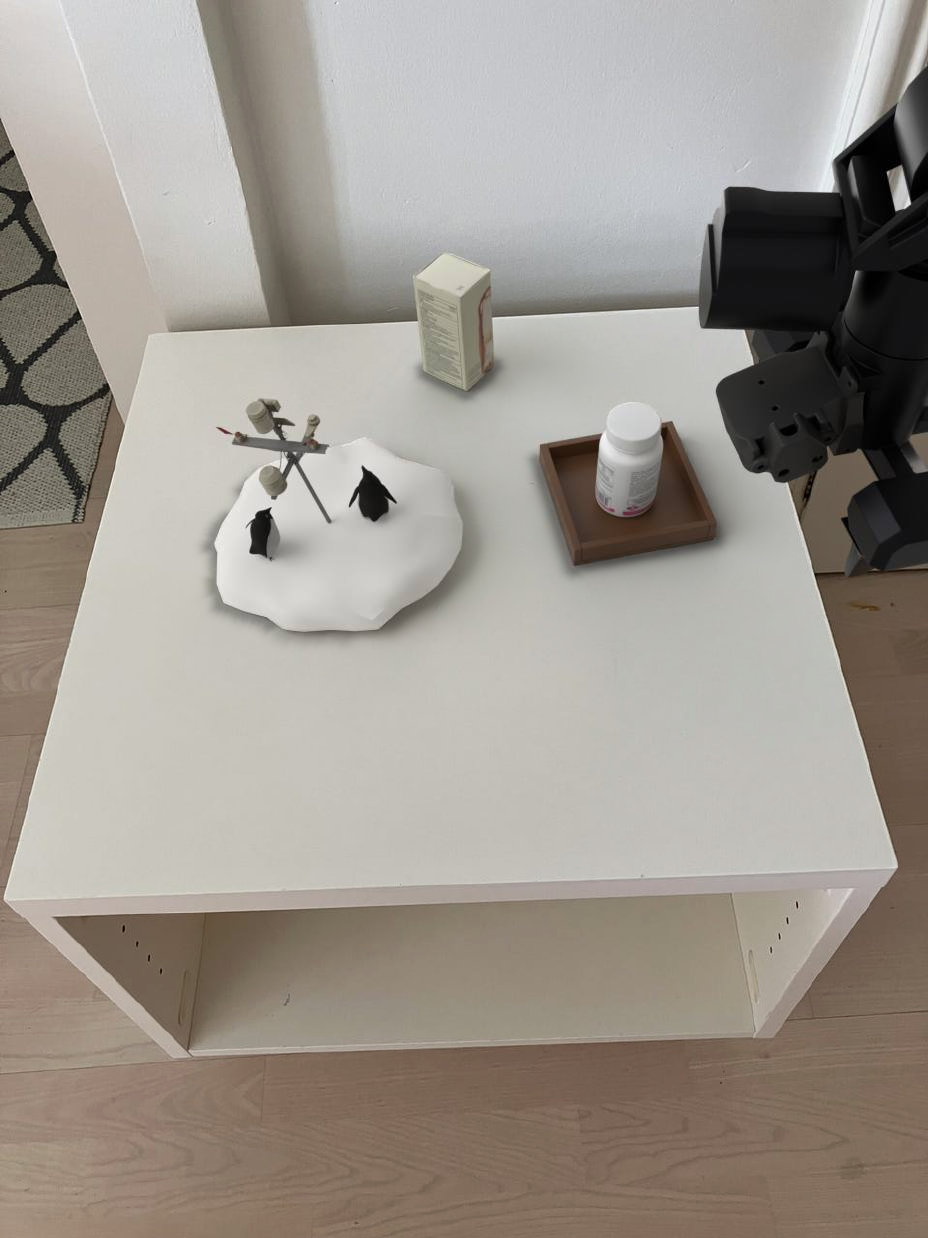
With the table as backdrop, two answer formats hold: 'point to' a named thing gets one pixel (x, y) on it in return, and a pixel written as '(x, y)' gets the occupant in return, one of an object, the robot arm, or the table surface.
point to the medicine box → (455, 319)
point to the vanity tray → (606, 536)
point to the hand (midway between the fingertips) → (823, 517)
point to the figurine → (333, 531)
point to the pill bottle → (629, 460)
